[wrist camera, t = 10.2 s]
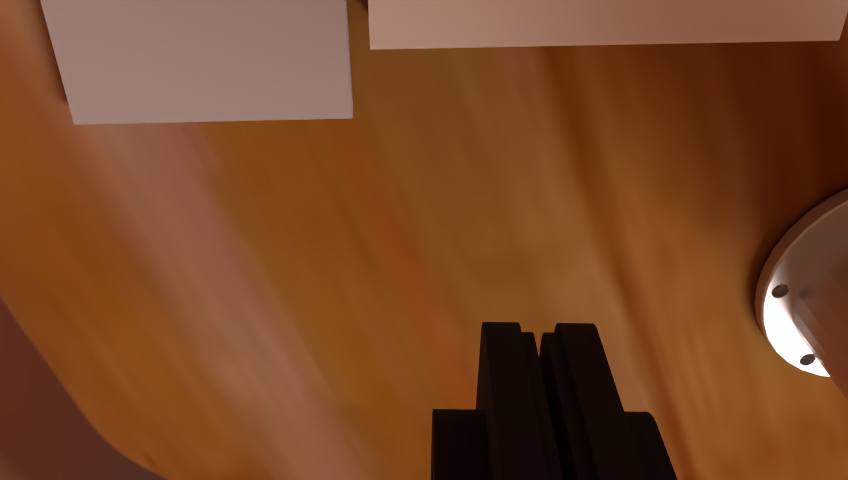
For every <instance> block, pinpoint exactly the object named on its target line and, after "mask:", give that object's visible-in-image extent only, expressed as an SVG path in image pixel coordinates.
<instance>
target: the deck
mask: <svg viewBox="0 0 848 480" xmlns="http://www.w3.org/2000/svg"><path fill="white" fill-rule="evenodd" d="M368 12H369V35H370V50H371V49H423V48H475V47H527V46H579V45H631V44H682V43H734V42H786V41H838V40H840V36H841V33H842V29H843V26H844V23H845V19H846V16H847V12H848V0H368Z"/></svg>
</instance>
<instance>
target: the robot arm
mask: <svg viewBox="0 0 848 480" xmlns="http://www.w3.org/2000/svg"><path fill="white" fill-rule="evenodd" d="M754 305H755V312H756V319H757V322H758V325H759V327H760V329H761V332H762V334H763V336H764V337H765V339H766V340H767V341H768V343H769V344H770V346H771V347H772V349H773V350H774V351H775V352H776V353H777V354H778V355H779V356H780V357H781V358H782V359H783V360H784V361H785V362H787V363H788V364H790V365H792V366H794V367H795V368H797V369H799V370H802V371H805V372H809V373H812V374H815V375H819V376H828V377H831V379H832V380H833V381H834V383H835V384H836V386H837V387H838V388H839V390H840V391H841V392H842V394H843V395H844V396H845V398H846V399H847V400H848V188H847V189H845V190H843V191H841V192H840V193H838V194H836V195H834V196H832V197H830V198H828V199H827V200H825V201H824V202H822V203H821V204H819V205H818V206H816V207H815V208H814V209H812V210H811V211H809V212H808V213H806V214H805V215H804V216H803V217H802V218H801V219H800V220H799V221H798V222H797V223H796V224H795V225H793V226H792V227H791V228H790V229H789V230H788V231H787V232H786V234H785V235H784V236H783V237H782V239H781V240H780V241H779V242H778V244H777V245H776V246H775V247H774V249H773V250H772V252H771V254H770V256H769V257H768V259H767V261H766V263H765V264H764V266H763V268H762V271H761V274H760V277H759V280H758V283H757V286H756V294H755V303H754ZM431 480H677V477H676V475H675V472H674V469H673V467H672V464H671V461H670V459H669V456H668V453H667V451H666V448H665V445H664V442H663V440H662V437H661V434H660V432H659V429H658V426H657V424H656V422H655V420H654V418H653V416H652V415H651V414H650V413H649V412H624V410H623V407H622V404H621V401H620V398H619V395H618V392H617V388H616V385H615V382H614V379H613V376H612V373H611V370H610V367H609V364H608V361H607V358H606V355H605V352H604V349H603V346H602V343H601V340H600V337H599V334H598V330H597V328H596V326H595V325H594V324H588V323H557V324H556V327H555V331H554V333H546V332H544V333H543V335H542V339H541V346H540V355H539V357H538V352H537V347H536V342H535V337H534V334H533V332H521V328H520V324H519V323H515V322H483V323H482V329H481V342H480V356H479V371H478V385H477V400H476V410H457V409H433V414H432V445H431Z"/></svg>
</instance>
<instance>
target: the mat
mask: <svg viewBox="0 0 848 480" xmlns="http://www.w3.org/2000/svg"><path fill="white" fill-rule="evenodd" d="M40 2H41V5H42V9H43V13H44V16H45V20H46V24H47V27H48V31H49V35H50V38H51V42H52V46H53V49H54V53H55V57H56V60H57V64H58V67H59V71H60V75H61V78H62V82H63V86H64V89H65V93H66V97H67V100H68V104H69V108H70V111H71V115H72V119H73V122H74V125H77V124H121V123H166V122H210V121H255V120H299V119H344V118H352V117H353V98H352V81H351V64H350V47H349V30H348V13H347V0H40Z"/></svg>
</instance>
